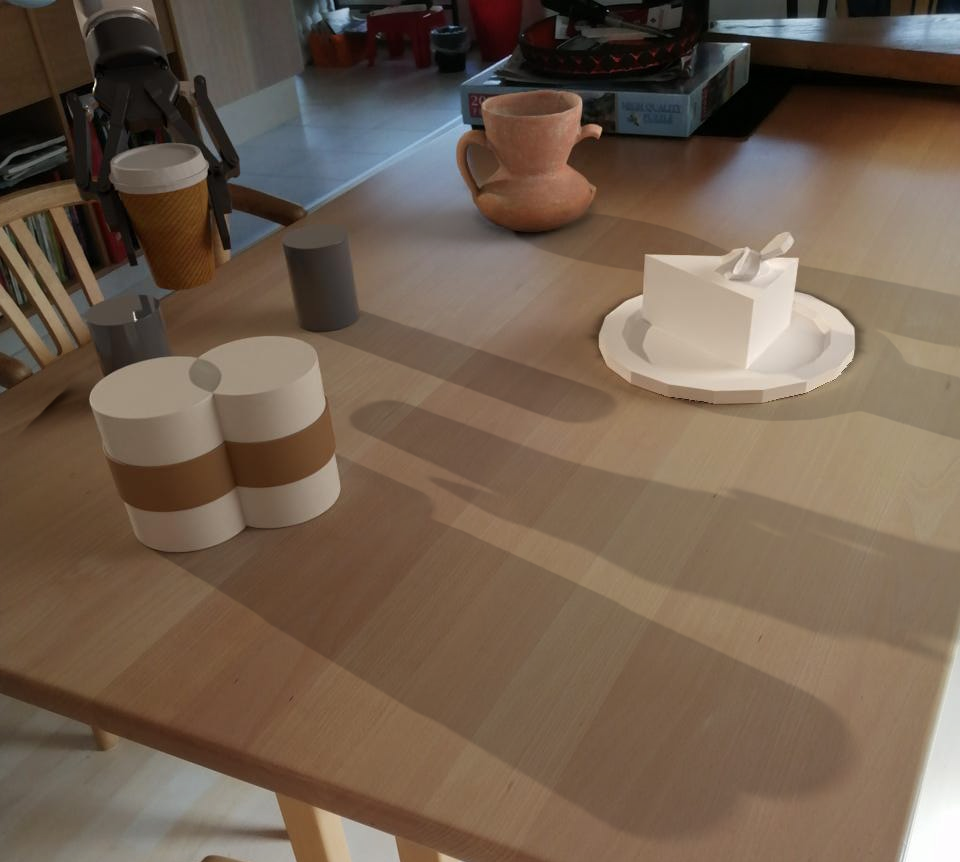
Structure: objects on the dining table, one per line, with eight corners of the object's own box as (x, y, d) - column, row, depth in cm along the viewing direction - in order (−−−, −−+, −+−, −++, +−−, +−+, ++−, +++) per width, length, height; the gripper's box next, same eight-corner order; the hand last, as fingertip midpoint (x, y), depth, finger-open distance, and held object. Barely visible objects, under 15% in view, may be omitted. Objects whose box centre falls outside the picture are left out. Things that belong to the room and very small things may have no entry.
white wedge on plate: (887, 319, 106) (910, 205, 99) (794, 428, 91) (814, 304, 84) (668, 277, 117) (674, 173, 110) (554, 369, 102) (552, 255, 95)
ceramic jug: (602, 200, 138) (603, 82, 129) (599, 240, 127) (600, 115, 118) (468, 204, 140) (460, 88, 131) (454, 244, 129) (444, 121, 120)
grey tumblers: (99, 398, 104) (70, 312, 98) (333, 299, 119) (321, 219, 113) (135, 420, 100) (107, 332, 94) (373, 315, 115) (361, 233, 109)
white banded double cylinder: (109, 549, 84) (61, 417, 76) (181, 456, 94) (145, 331, 86) (306, 563, 80) (276, 426, 73) (357, 465, 91) (336, 336, 83)
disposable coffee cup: (123, 280, 108) (88, 159, 100) (202, 254, 112) (175, 135, 105) (167, 305, 102) (133, 178, 95) (249, 276, 107) (224, 153, 99)
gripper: (230, 49, 110) (285, 250, 108) (21, 77, 105) (76, 287, 104) (227, -2, 102) (286, 214, 101) (1, 26, 98) (61, 252, 97)
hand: (180, 251), depth 102 cm, fingers closed on disposable coffee cup, 9 cm apart
